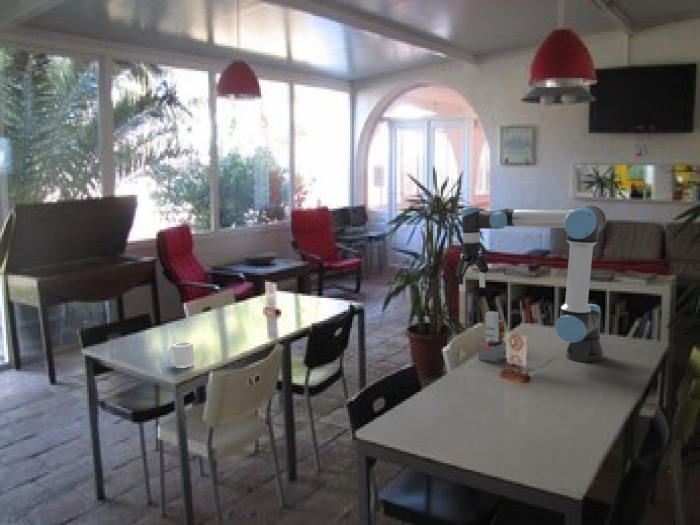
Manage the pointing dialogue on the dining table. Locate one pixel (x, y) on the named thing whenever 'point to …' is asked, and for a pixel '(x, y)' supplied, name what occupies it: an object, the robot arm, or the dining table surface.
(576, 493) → the dining table surface
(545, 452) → the dining table surface
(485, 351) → the stand base
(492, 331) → the column
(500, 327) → the mug
